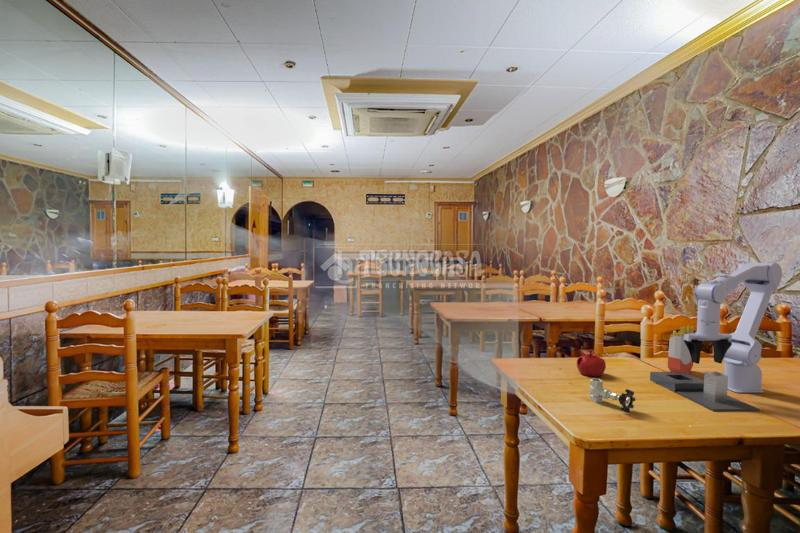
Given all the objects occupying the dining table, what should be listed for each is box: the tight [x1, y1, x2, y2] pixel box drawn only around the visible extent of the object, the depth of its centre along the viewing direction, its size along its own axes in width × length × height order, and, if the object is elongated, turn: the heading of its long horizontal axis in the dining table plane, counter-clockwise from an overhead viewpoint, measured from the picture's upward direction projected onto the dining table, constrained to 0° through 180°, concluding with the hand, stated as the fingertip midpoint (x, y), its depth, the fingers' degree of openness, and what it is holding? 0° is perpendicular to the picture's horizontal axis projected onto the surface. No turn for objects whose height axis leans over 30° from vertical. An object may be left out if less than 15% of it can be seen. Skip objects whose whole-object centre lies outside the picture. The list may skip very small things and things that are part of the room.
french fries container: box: [667, 325, 695, 374], centre depth 149 cm, size 5×11×18 cm, turn 122°
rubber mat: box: [676, 392, 760, 412], centre depth 120 cm, size 14×14×1 cm
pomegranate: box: [576, 349, 607, 378], centre depth 146 cm, size 10×10×9 cm
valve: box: [588, 377, 636, 413], centre depth 117 cm, size 7×7×12 cm
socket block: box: [649, 371, 704, 393], centre depth 134 cm, size 12×12×3 cm
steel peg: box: [703, 371, 728, 402], centre depth 121 cm, size 4×4×8 cm
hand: (706, 362), depth 127 cm, fingers open, 7 cm apart
